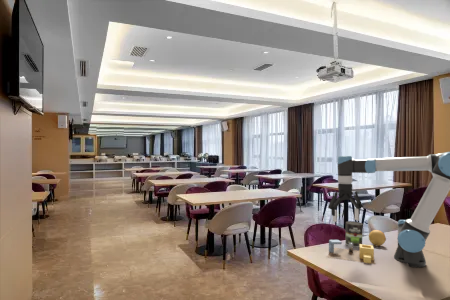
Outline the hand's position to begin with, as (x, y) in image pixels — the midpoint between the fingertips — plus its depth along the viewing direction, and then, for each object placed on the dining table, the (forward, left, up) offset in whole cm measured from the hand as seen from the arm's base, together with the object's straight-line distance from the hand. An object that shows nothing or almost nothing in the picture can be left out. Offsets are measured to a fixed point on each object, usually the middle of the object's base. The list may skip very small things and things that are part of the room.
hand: (345, 220), depth 174 cm
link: (-11, -1, -20) cm, 23 cm away
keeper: (+6, -6, -20) cm, 22 cm away
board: (-3, -4, -22) cm, 22 cm away
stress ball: (-19, -35, -22) cm, 45 cm away
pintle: (-3, -10, -20) cm, 23 cm away
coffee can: (-5, -31, -22) cm, 38 cm away
